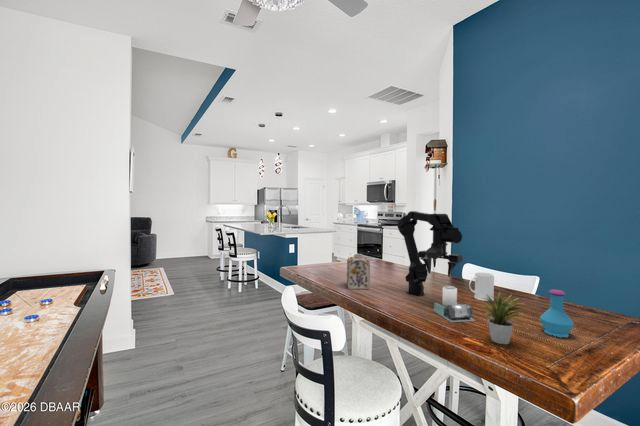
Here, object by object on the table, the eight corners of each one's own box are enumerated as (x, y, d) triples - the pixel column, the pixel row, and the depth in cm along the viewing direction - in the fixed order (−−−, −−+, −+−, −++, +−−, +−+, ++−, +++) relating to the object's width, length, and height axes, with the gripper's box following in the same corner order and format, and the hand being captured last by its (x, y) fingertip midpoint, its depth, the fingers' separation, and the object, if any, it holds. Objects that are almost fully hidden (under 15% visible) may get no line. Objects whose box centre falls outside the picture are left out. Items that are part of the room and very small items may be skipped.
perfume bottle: (575, 341, 98) (576, 296, 97) (541, 335, 102) (542, 291, 102) (570, 332, 105) (571, 289, 105) (538, 326, 110) (539, 286, 110)
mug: (472, 300, 140) (472, 275, 140) (464, 295, 149) (464, 271, 149) (497, 301, 140) (498, 276, 140) (488, 296, 148) (488, 272, 148)
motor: (432, 310, 126) (433, 297, 126) (453, 309, 128) (453, 296, 128) (451, 322, 113) (452, 307, 113) (474, 321, 115) (474, 306, 114)
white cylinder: (438, 310, 124) (439, 285, 124) (449, 309, 126) (449, 284, 126) (449, 315, 119) (450, 289, 119) (460, 313, 121) (460, 288, 121)
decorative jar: (370, 289, 158) (370, 256, 158) (348, 289, 158) (348, 255, 158) (366, 284, 170) (367, 252, 170) (346, 283, 170) (347, 252, 170)
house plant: (505, 355, 87) (506, 300, 87) (465, 337, 100) (466, 288, 100) (535, 347, 93) (536, 295, 93) (494, 330, 106) (495, 284, 106)
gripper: (411, 240, 137) (411, 274, 138) (452, 244, 124) (451, 281, 124) (423, 239, 145) (423, 270, 145) (463, 242, 131) (462, 277, 131)
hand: (438, 275), depth 136 cm, fingers open, 9 cm apart
